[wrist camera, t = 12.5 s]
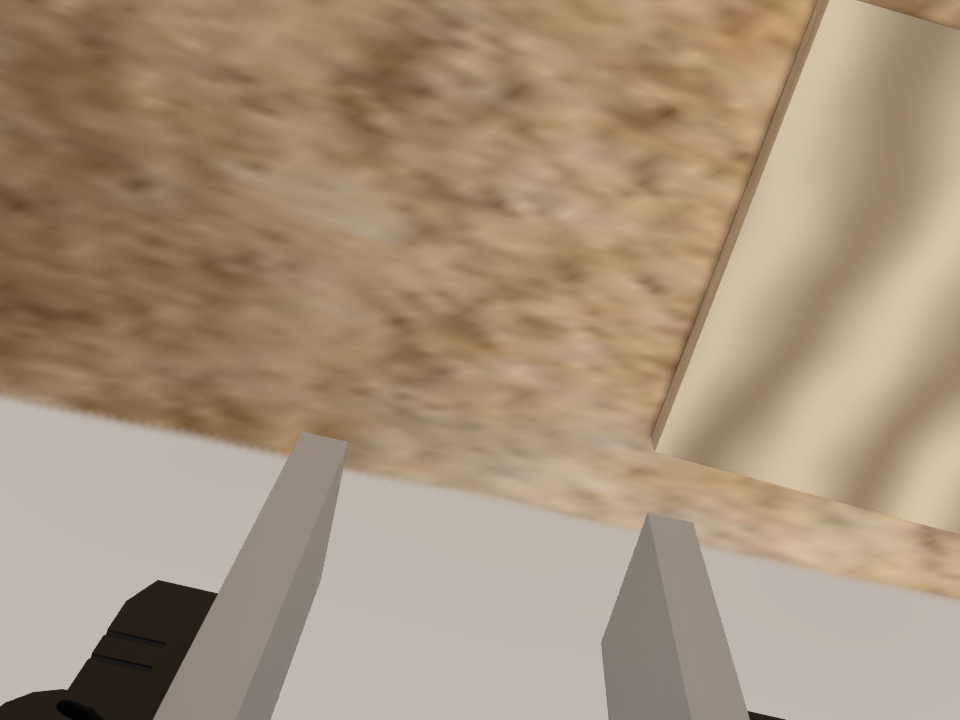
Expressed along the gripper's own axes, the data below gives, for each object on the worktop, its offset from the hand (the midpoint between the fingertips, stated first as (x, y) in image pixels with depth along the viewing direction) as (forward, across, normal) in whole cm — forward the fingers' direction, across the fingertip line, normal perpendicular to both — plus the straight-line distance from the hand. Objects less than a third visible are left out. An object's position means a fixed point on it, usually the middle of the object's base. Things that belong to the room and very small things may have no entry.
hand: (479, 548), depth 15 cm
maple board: (+24, +19, +1) cm, 30 cm away
